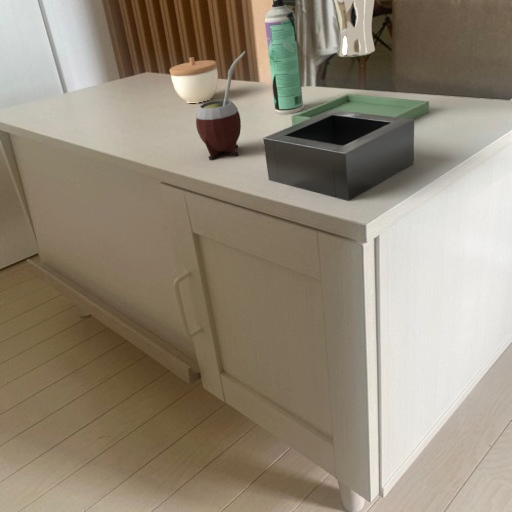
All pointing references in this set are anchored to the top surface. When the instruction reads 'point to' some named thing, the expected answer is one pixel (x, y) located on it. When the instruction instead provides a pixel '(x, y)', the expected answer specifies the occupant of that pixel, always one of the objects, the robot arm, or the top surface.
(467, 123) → the top surface
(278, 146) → the basin
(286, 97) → the spray can
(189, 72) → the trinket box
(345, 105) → the tray
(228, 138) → the mate gourd
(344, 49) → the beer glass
